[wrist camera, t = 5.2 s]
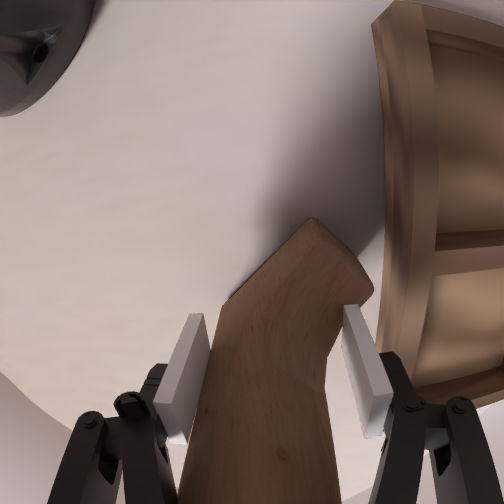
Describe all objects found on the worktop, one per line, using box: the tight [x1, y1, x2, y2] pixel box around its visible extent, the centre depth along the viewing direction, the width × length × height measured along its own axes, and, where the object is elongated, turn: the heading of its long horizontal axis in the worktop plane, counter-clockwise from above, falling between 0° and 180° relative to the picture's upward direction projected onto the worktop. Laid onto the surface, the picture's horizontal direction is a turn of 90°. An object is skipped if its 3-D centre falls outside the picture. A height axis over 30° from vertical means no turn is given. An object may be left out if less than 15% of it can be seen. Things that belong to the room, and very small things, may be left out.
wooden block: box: [177, 218, 374, 504], centre depth 13 cm, size 9×4×18 cm, turn 139°
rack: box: [371, 0, 504, 432], centre depth 17 cm, size 28×15×4 cm, turn 5°
